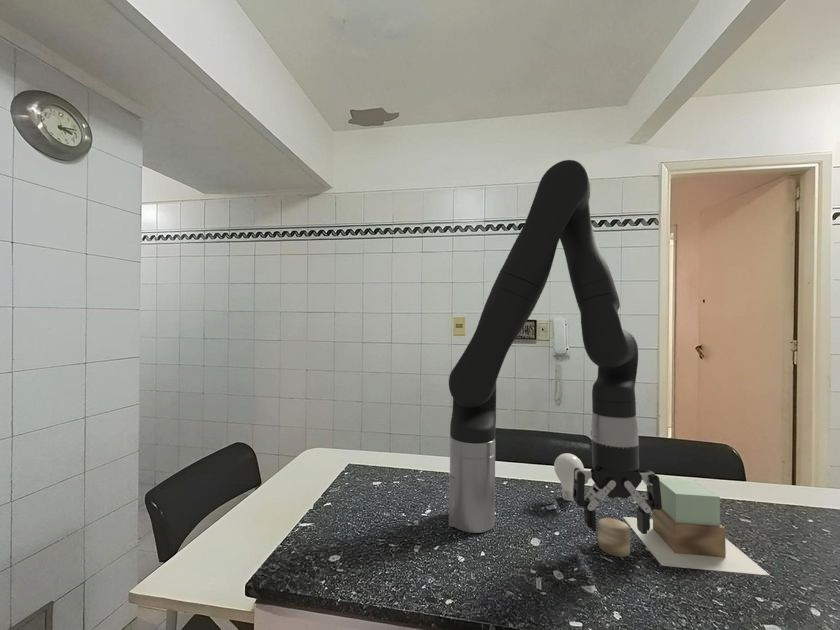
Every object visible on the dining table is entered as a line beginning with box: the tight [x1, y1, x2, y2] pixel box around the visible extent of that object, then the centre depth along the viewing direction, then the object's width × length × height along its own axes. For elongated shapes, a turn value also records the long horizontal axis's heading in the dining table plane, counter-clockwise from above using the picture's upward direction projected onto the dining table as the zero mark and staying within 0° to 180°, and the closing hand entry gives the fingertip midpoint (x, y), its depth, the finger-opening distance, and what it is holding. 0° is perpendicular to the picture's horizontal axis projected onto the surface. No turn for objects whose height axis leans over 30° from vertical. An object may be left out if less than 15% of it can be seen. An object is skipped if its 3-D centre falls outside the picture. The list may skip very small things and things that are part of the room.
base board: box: [622, 516, 771, 576], centre depth 69 cm, size 16×16×1 cm
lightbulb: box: [553, 452, 585, 502], centre depth 86 cm, size 6×6×11 cm
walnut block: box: [652, 509, 726, 558], centre depth 69 cm, size 8×8×5 cm
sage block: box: [659, 477, 721, 526], centre depth 69 cm, size 7×7×5 cm
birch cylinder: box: [597, 517, 631, 558], centre depth 67 cm, size 5×5×5 cm
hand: (616, 530), depth 67 cm, fingers open, 8 cm apart
